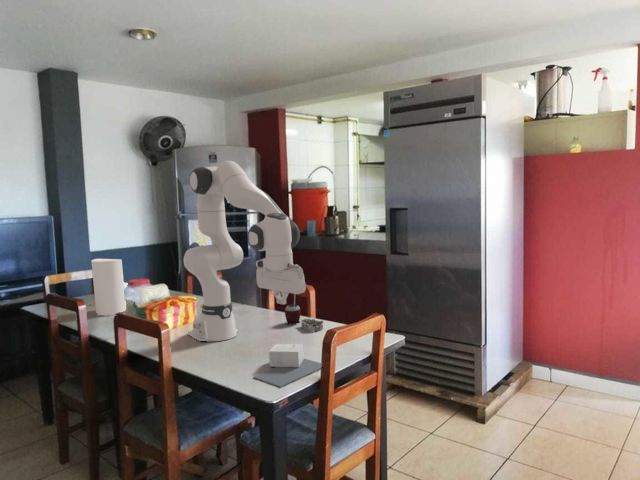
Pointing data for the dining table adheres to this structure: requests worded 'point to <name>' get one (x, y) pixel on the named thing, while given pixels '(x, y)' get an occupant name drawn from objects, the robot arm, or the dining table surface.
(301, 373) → the slate mat
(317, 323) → the egg carton
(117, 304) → the cylinder
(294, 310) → the mate gourd
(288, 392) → the dining table surface
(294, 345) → the small box
